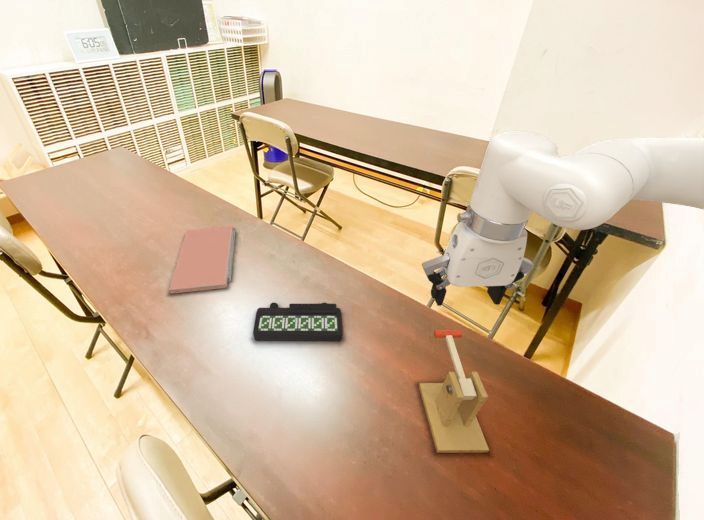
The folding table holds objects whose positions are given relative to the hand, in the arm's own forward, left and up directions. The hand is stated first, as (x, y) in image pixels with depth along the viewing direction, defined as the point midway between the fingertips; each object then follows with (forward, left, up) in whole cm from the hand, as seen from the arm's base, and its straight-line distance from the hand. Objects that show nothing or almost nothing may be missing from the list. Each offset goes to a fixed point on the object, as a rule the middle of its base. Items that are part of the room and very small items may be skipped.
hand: (464, 298), depth 56 cm
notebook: (+24, +66, -24) cm, 74 cm away
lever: (-5, -1, -13) cm, 14 cm away
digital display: (+6, +32, -24) cm, 41 cm away
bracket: (-9, -2, -24) cm, 26 cm away
